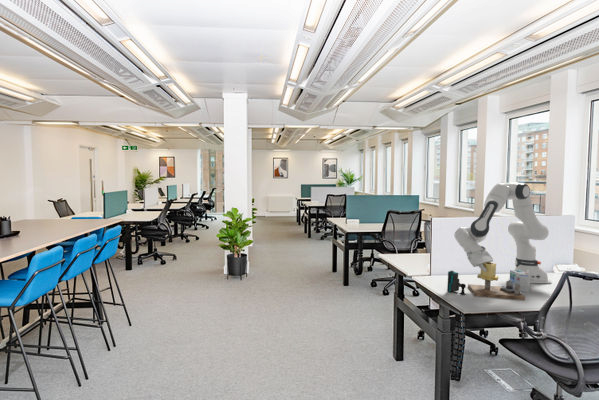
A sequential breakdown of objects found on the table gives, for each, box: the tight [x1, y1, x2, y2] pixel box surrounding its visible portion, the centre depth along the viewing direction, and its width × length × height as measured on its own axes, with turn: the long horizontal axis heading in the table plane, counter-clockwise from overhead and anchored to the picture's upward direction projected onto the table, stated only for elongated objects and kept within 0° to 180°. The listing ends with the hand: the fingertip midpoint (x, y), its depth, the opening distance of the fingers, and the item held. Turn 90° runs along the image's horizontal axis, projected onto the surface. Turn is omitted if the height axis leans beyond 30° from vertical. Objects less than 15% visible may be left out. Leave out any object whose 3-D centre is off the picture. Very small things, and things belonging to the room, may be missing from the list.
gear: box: [499, 279, 515, 293], centre depth 223 cm, size 10×9×6 cm
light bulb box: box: [509, 269, 531, 292], centre depth 235 cm, size 11×7×11 cm, turn 3°
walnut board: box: [467, 280, 526, 301], centre depth 224 cm, size 26×18×8 cm
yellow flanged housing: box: [477, 262, 499, 282], centre depth 225 cm, size 11×11×9 cm
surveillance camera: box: [446, 270, 468, 296], centre depth 223 cm, size 6×12×10 cm
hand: (489, 270), depth 225 cm, fingers closed on yellow flanged housing, 6 cm apart
